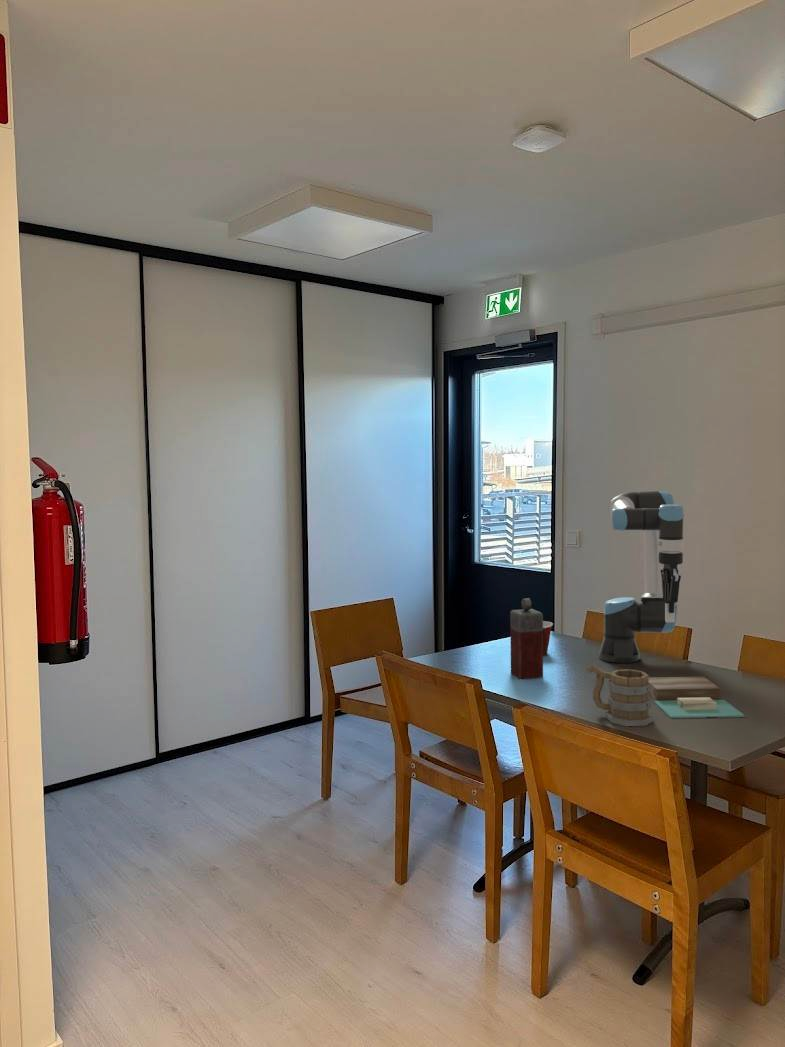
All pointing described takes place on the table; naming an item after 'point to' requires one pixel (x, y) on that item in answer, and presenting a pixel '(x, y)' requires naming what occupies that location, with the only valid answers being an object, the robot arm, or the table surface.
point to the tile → (697, 703)
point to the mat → (677, 712)
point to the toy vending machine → (527, 642)
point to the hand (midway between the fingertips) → (669, 621)
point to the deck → (682, 688)
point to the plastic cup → (547, 630)
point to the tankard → (624, 696)
